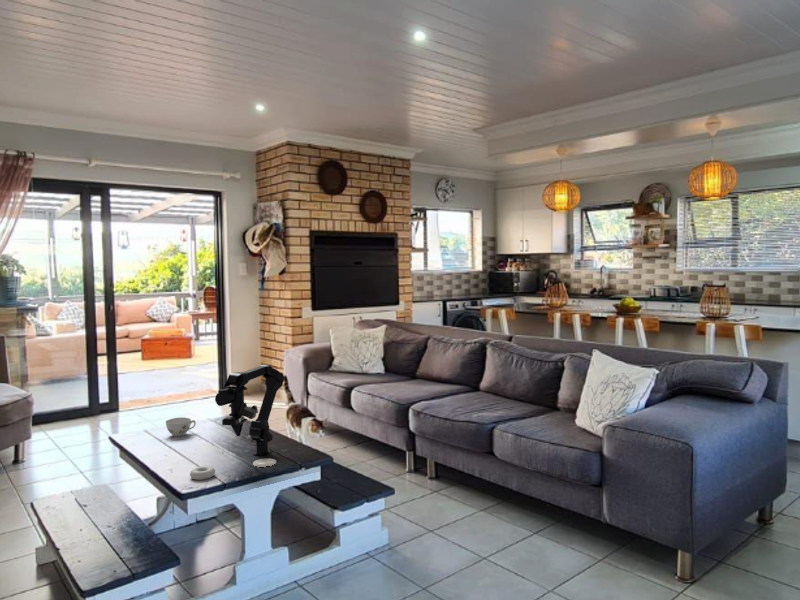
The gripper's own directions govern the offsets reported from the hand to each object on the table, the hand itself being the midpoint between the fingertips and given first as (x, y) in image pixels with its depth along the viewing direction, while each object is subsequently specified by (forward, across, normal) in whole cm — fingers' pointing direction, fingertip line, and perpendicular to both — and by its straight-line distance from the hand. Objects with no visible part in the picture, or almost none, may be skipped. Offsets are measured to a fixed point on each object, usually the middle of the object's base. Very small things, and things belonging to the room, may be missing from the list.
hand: (238, 436), depth 258 cm
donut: (+10, -15, +10) cm, 20 cm away
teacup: (+12, +39, +51) cm, 65 cm away
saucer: (+12, 0, -12) cm, 17 cm away
